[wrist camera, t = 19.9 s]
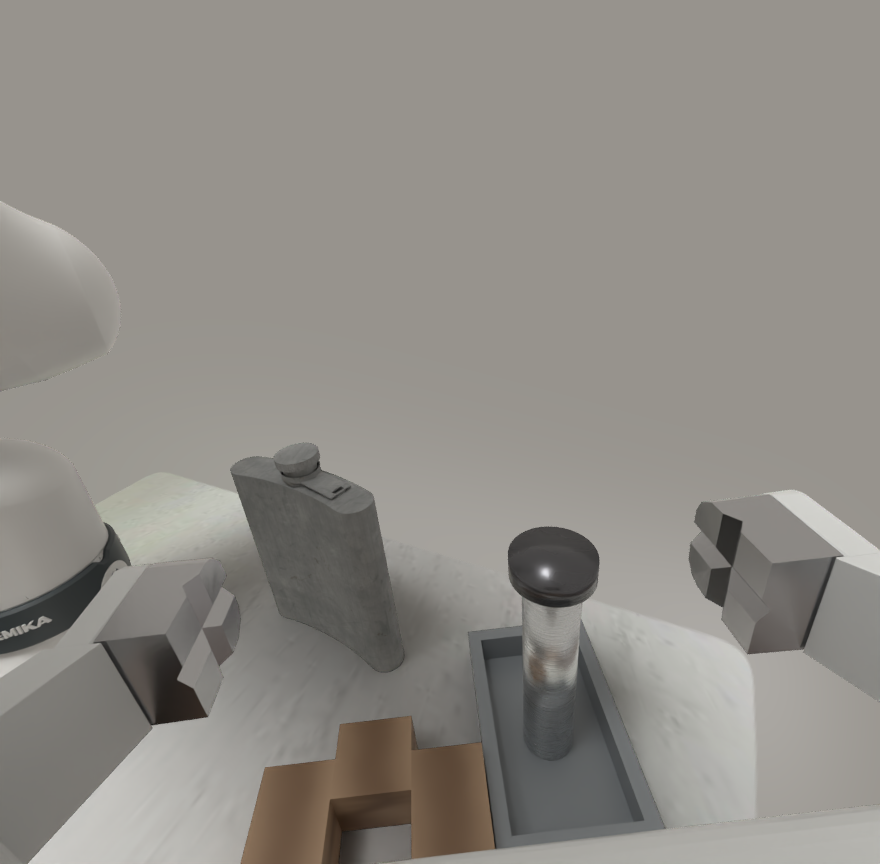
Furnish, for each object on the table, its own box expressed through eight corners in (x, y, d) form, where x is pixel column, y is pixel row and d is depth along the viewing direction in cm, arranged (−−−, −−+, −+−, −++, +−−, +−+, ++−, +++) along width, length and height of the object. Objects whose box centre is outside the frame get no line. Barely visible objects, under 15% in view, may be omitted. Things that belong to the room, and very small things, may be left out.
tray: (499, 883, 29) (497, 858, 28) (470, 655, 43) (468, 631, 42) (663, 863, 29) (669, 838, 28) (580, 642, 43) (581, 618, 42)
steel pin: (520, 776, 33) (518, 592, 26) (506, 705, 38) (501, 531, 30) (594, 768, 34) (613, 581, 26) (571, 698, 38) (581, 522, 30)
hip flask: (273, 610, 50) (214, 445, 41) (302, 585, 53) (253, 425, 44) (389, 678, 42) (347, 488, 33) (416, 644, 45) (384, 461, 36)
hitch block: (216, 1089, 23) (189, 1065, 21) (287, 763, 36) (274, 732, 35) (520, 1053, 23) (517, 1026, 21) (480, 741, 36) (477, 708, 35)
